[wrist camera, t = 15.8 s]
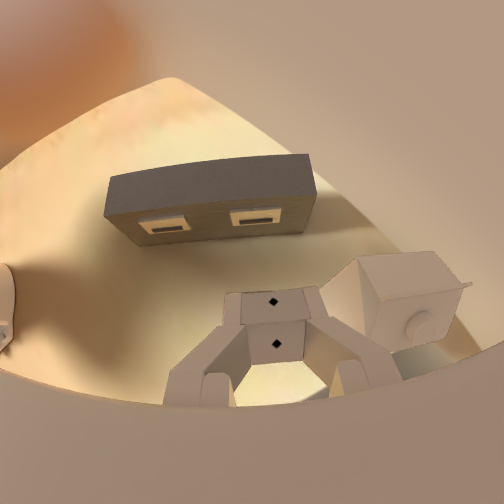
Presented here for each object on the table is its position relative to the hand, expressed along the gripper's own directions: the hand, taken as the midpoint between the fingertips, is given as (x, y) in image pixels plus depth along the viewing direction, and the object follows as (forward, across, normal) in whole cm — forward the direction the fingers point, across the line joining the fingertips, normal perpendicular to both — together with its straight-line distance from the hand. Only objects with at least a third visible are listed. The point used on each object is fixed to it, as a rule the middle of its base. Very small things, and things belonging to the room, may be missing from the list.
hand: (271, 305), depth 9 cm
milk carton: (+17, -10, +17) cm, 26 cm away
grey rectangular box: (+26, +5, +7) cm, 28 cm away
